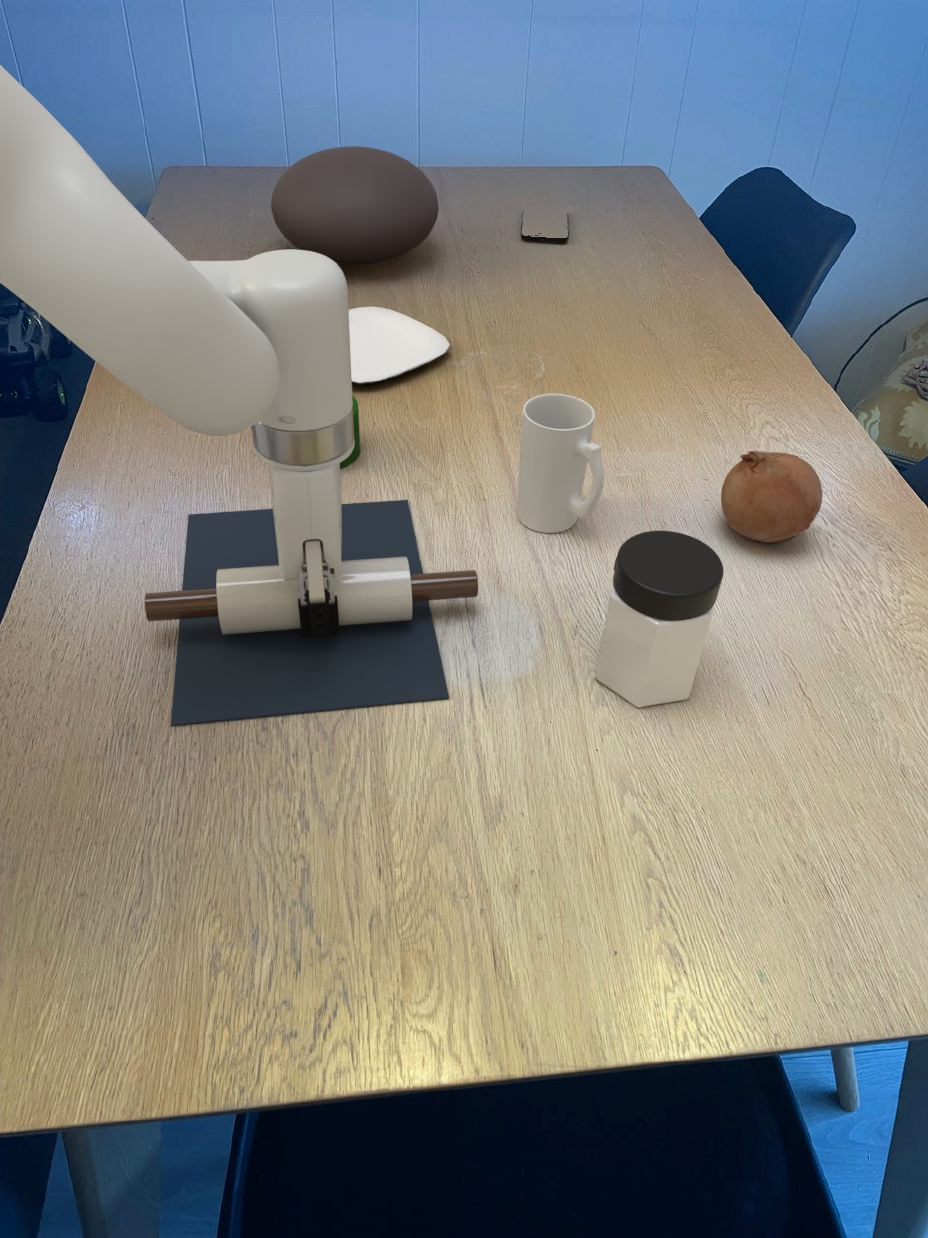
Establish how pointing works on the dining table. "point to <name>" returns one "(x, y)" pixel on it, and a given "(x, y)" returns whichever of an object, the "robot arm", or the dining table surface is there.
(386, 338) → the plate
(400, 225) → the smooth stone
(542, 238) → the smartphone
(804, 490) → the onion
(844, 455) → the dining table surface
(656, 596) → the jar
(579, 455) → the mug
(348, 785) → the dining table surface
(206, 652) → the baking mat
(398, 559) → the rolling pin
